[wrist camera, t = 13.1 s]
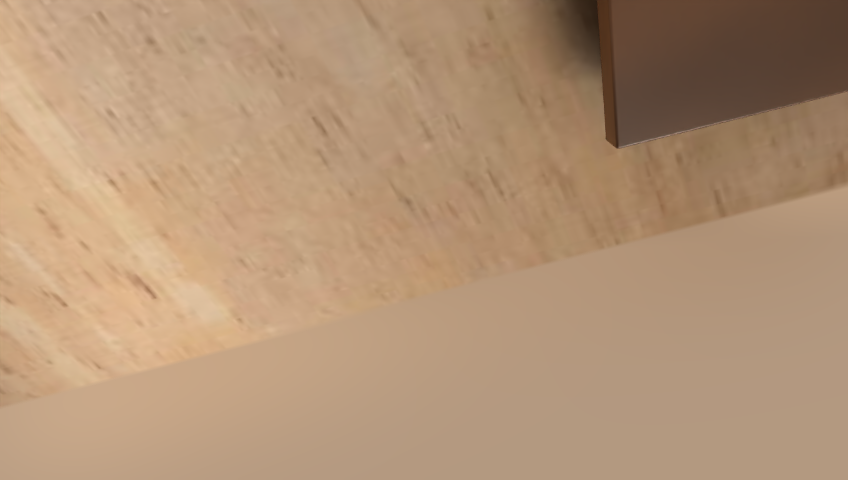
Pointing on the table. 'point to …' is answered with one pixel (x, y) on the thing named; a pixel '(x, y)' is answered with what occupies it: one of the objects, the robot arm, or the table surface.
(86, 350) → the table surface
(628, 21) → the board
